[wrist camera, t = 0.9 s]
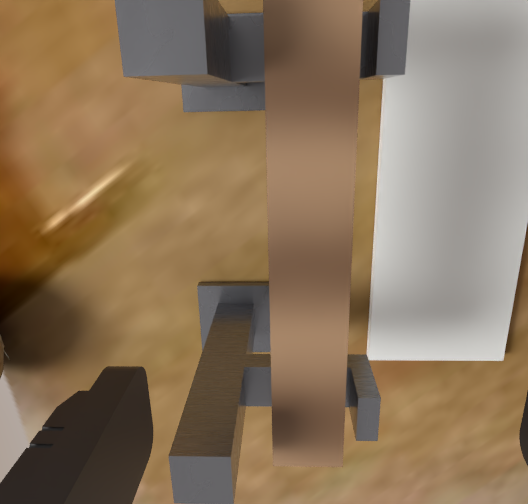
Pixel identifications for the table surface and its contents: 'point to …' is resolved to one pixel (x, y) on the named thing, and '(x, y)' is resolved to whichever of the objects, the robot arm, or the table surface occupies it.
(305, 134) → the rail
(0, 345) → the onion
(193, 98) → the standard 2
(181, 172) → the table surface
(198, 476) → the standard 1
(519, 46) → the mat
